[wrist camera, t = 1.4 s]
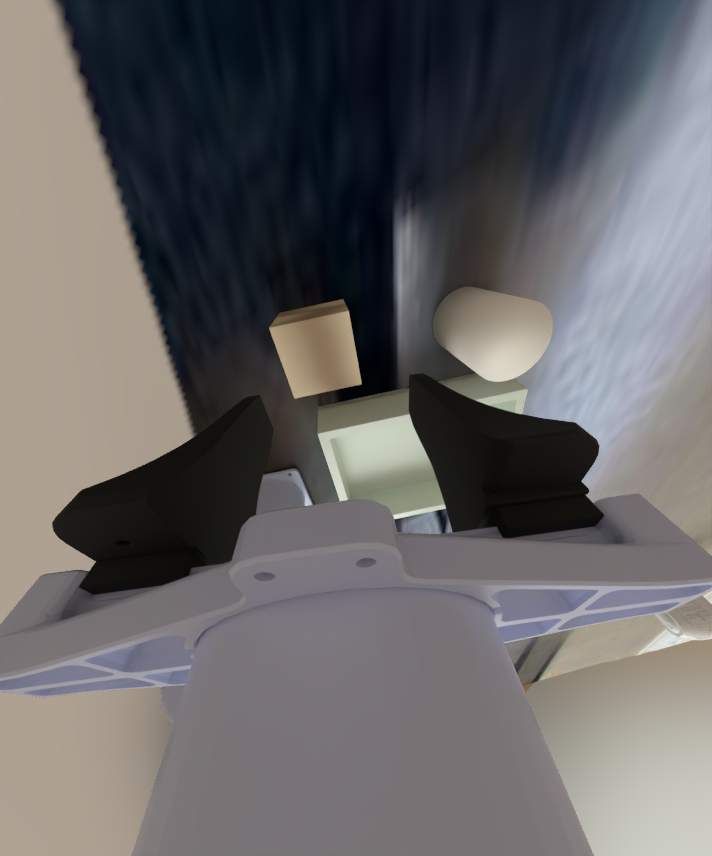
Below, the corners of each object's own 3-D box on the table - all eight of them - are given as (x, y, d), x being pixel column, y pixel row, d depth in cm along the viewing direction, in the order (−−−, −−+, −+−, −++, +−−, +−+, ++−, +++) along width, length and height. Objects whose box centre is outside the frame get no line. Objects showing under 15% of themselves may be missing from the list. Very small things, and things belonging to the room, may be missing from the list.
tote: (345, 497, 32) (349, 528, 29) (318, 406, 25) (317, 433, 21) (481, 468, 32) (502, 496, 29) (496, 368, 24) (528, 388, 21)
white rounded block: (616, 579, 59) (678, 646, 49) (626, 570, 56) (692, 639, 46) (658, 571, 59) (728, 637, 49) (669, 562, 57) (745, 629, 47)
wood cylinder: (432, 354, 23) (469, 388, 17) (432, 294, 20) (476, 310, 14) (486, 343, 23) (541, 373, 17) (494, 280, 20) (563, 291, 14)
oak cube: (299, 372, 23) (294, 398, 18) (279, 312, 20) (268, 328, 16) (354, 360, 23) (361, 384, 18) (342, 298, 20) (348, 310, 16)
